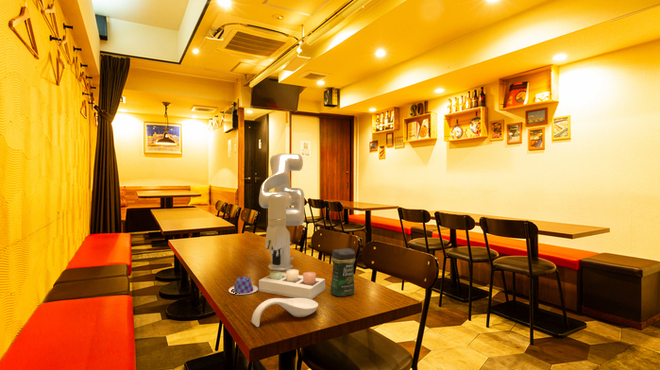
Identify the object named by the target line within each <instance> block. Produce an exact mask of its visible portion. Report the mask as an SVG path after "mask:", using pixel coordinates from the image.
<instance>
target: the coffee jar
mask: <svg viewBox="0 0 660 370" xmlns="http://www.w3.org/2000/svg"><path fill="white" fill-rule="evenodd" d="M331 254H332V255H331V261H332V273H331V274H332V275H331V281H330V282H331V283H330V293H331V294H332V295H334V296H337V297H345V296H351V295H354V294H355V277H354V275H355V274H354V273H355V272H354V269H355V268H354V265H355V262H356V252H355V250H354V249H352V248H349V247H348V248H339V249H333V250H332V252H331Z"/></svg>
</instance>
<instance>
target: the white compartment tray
mask: <svg viewBox="0 0 660 370" xmlns="http://www.w3.org/2000/svg"><path fill="white" fill-rule="evenodd" d="M325 290H326V279H325V278H320V277H316V284H315V285H313V286H311V285H304V284H303V274H299V281H298V282H296V283H292V282H286V272H282V279H280V280H274V279H270V274H269V275H267V276H265V277H263V278H261V279H259V280H258V292H262V293H268V294H274V295H277V296H285V297H288V298H289V297H290V298H306V299H311V300H313V299H314V298H315V297H317V296H318V295H319V294H321V293H322V292H324V291H325Z"/></svg>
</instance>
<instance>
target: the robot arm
mask: <svg viewBox="0 0 660 370" xmlns="http://www.w3.org/2000/svg"><path fill="white" fill-rule="evenodd" d="M269 164H270V170H271V175H270V176H268V177H267V178H266V179H265V180H264V181H263V183H261V186H260V189H259V196H258V204H259V206H260V207H261V208H263V209H267V212H268V213H267V227H266V234H265V250H268V254H270V255H271V258H270V259H271V263H269V264H268V267H267V268H268V270H271V271H279V272H282V271H287V270H289V269H294V268H293V267H294V266H293V264H292V263H291V261H293V260H294V257H293V256H291V233H290V231H289V230H288V228H287V227H288V226H292V227H293V226H297V227H299V226H302V225H304V222H305V194H304V193H305V191H304V190H303V189H301V188H299V187H291V182H292V181H291V178H290V171H292V172H295V171H296V172H297V171H298V172H299V171H301V170H302V169H303V166H304V160H303V156H302V155H301V154H300V153H299V154H298V153H277V154H275V155H272V156H271V157H270V160H269ZM271 190H273V191H271ZM291 206H292V207H291Z"/></svg>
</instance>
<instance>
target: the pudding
mask: <svg viewBox="0 0 660 370" xmlns="http://www.w3.org/2000/svg"><path fill="white" fill-rule="evenodd" d="M232 289H234V290H233V291H234V293H233V292H231V290H232ZM257 291H259V286H256V285H254V284H253V283H252V279H251V277H249V276H242V277H237V278H236V280H235V284H234V285H233V286H231V287H229V289H228V292H229V293H230V294H232V295H234V294H235V293H237V294H239V293H240V294H239V295H245V294H246V295H249V294H253V293H255V292H257ZM235 295H236V294H235Z"/></svg>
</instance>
